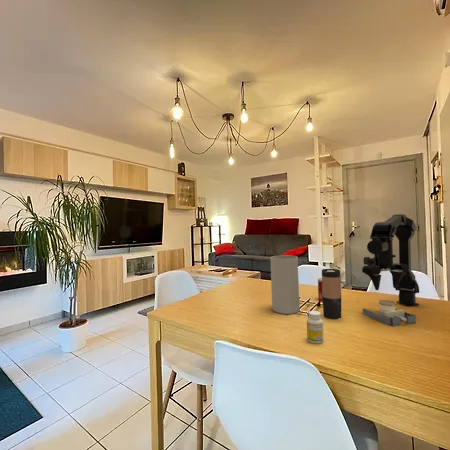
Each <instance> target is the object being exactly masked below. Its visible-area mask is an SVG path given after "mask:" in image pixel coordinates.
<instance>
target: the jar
mask: <svg viewBox="0 0 450 450" xmlns="http://www.w3.org/2000/svg"><path fill="white" fill-rule="evenodd" d="M378 303H379V314H381V315H383V316H384V312H387V311H394V310H395V309H396V302H395V301H394V300H390V299H379V300H378Z"/></svg>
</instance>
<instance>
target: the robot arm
mask: <svg viewBox="0 0 450 450" xmlns="http://www.w3.org/2000/svg"><path fill="white" fill-rule="evenodd" d="M416 229H417V226H416V223H415V221H414V220H413V219H412V218H409V217H407V215H406V214H401V213H399V214H393V215H391V216H390V217H389V218H388V219H386V220H385V221H379V222H375V223H374V225H373V226H372V229H371V233H370V236H369V238H370V239H371V240H370V241H369V242H368V243H367V245H366V249H367V251H368V252H369V254H371V255H373V257H372V258H371V257H370V256H365V257H363V264H364V265H363V267H362V269H361V272H362V273H364V274H365V275H366V276H368V277H369V279H370V280H371V283H372V284H373V287H374V289H375V291H379V290H380V284H381V279H382V274H381V273H382V272H388V271H389V273H390V274H391V280H392V287H393V289H395V291H398V301H396V303H398V304H400V305H404V306H407V307H410V306H413V307H414V306H418V305H419V304H420V303H418V302H416V300H417V299H416V294H419V293H420V287H419V284H418V281H417V280H416V275H415V273H414V272H413V270H412V260H411V259H412V254H411V253H412V252H411V251H412V250H411V249H412V248H411V240H412V239H413V237H414V236H415V234H416V233H415V232H416V231H417V230H416ZM395 237H396V238H397V239H398V256H399V257H398V259H399V260H398V262H396V263H395V262H394V258H396V254H394V252H393V251H394V250H393V249H394V247H393V241H394V239H393V238H395Z"/></svg>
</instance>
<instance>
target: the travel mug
mask: <svg viewBox="0 0 450 450" xmlns="http://www.w3.org/2000/svg"><path fill="white" fill-rule="evenodd" d="M321 278H322V299H323V302H322V311H323V312H322V313H323V317H324V318H327V319H330V320H339V319H342V283H341V281H342V280H341V279H342V278H341V269H336V268H322V269H321Z"/></svg>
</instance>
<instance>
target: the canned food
mask: <svg viewBox="0 0 450 450" xmlns="http://www.w3.org/2000/svg"><path fill="white" fill-rule="evenodd" d="M317 290H318V292H317V293H318V300H319V301H320V302H322V303H323V299H322V277H319V278H317Z"/></svg>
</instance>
